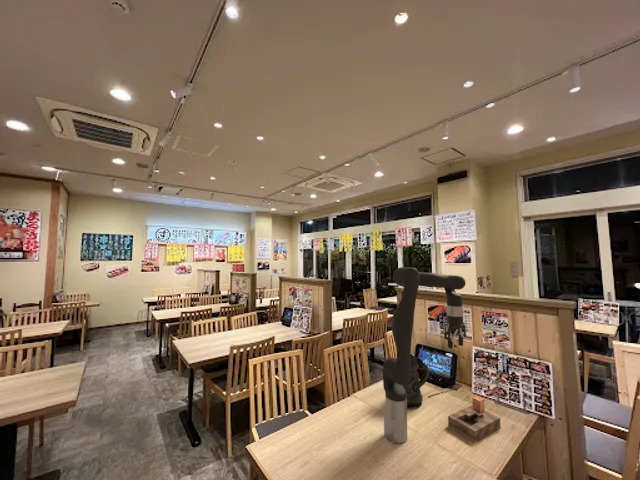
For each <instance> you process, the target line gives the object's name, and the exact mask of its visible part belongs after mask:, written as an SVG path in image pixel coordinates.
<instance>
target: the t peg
mask: <svg viewBox="0 0 640 480" xmlns="http://www.w3.org/2000/svg"><path fill="white" fill-rule="evenodd" d="M471 399H472V400H471V401H472V405H473V411H475V412H476V416H473V422H474V423H477V422H476V419H477V418H479V417H481V414H482V413H484V412H485V411H486V410H485V398H483V397H481V396H479V395H475V396H473V397H472V398H471Z"/></svg>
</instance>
